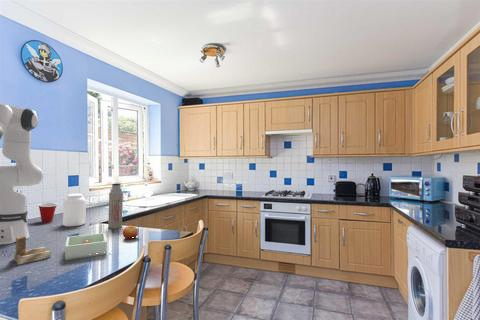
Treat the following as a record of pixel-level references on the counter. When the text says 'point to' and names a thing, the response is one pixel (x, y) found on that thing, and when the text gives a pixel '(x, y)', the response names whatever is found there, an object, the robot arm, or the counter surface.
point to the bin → (85, 246)
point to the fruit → (130, 232)
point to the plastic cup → (47, 211)
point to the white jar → (74, 210)
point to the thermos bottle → (115, 207)
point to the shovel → (28, 252)
